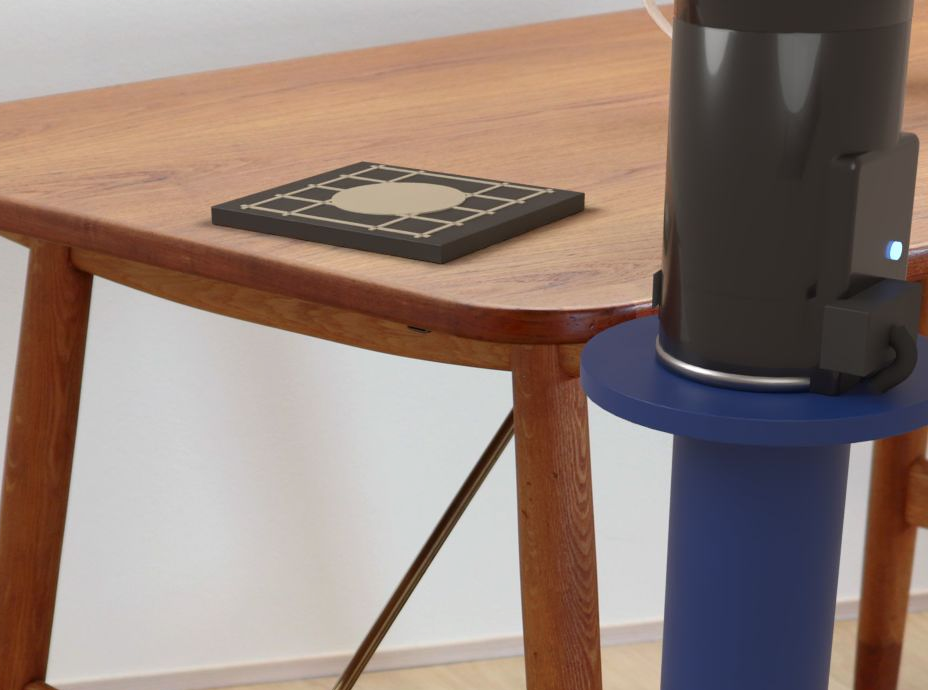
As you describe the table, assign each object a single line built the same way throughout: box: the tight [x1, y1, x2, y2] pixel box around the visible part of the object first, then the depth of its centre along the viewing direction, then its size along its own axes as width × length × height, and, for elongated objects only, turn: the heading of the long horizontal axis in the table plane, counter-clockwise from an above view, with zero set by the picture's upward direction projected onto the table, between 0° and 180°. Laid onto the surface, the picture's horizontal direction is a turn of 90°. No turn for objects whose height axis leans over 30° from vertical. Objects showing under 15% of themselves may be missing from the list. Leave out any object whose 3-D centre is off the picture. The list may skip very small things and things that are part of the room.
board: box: [210, 160, 586, 265], centre depth 109 cm, size 16×14×1 cm
